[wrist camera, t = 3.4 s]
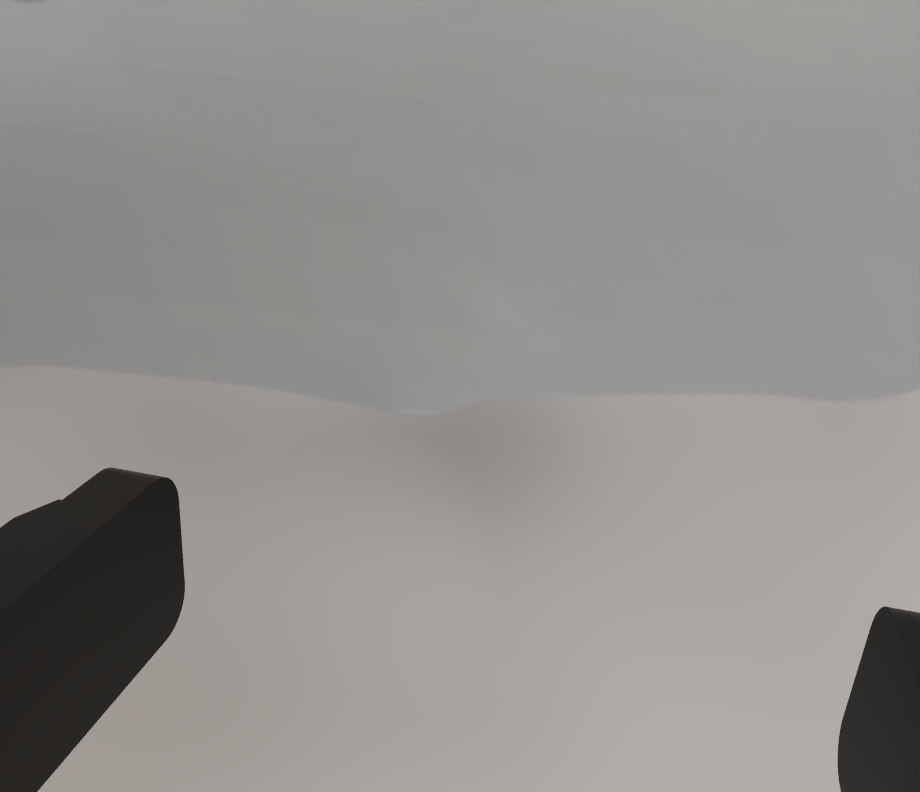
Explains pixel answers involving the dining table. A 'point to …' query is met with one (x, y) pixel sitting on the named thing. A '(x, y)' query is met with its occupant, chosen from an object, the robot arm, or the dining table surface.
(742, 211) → the dining table surface
